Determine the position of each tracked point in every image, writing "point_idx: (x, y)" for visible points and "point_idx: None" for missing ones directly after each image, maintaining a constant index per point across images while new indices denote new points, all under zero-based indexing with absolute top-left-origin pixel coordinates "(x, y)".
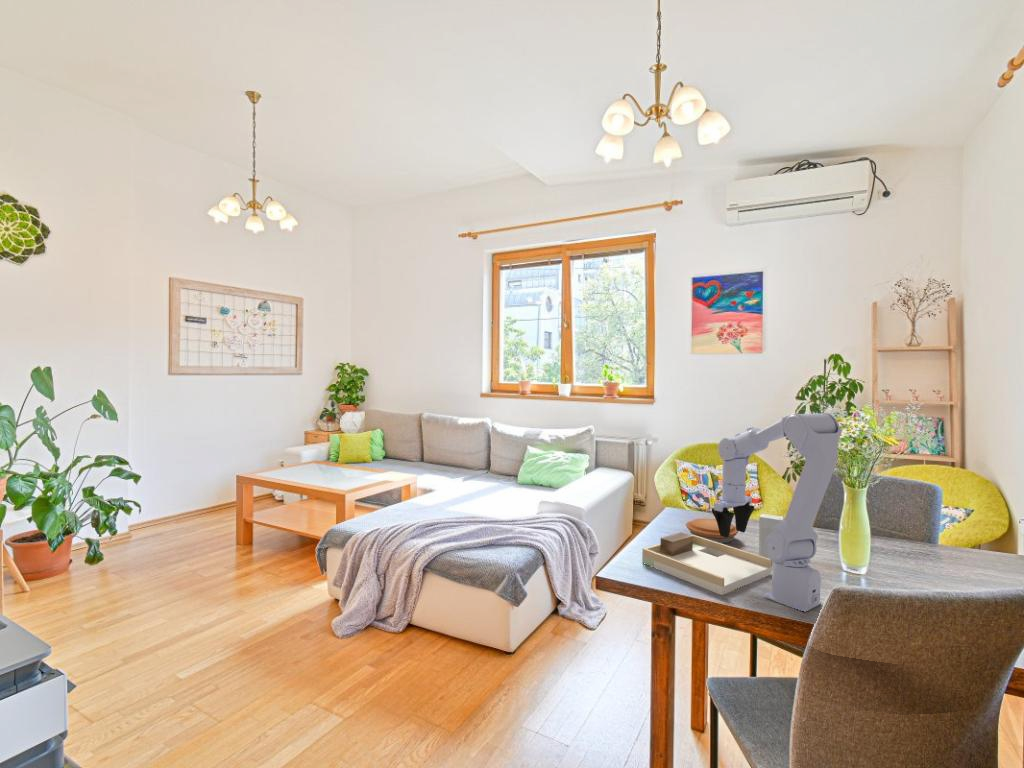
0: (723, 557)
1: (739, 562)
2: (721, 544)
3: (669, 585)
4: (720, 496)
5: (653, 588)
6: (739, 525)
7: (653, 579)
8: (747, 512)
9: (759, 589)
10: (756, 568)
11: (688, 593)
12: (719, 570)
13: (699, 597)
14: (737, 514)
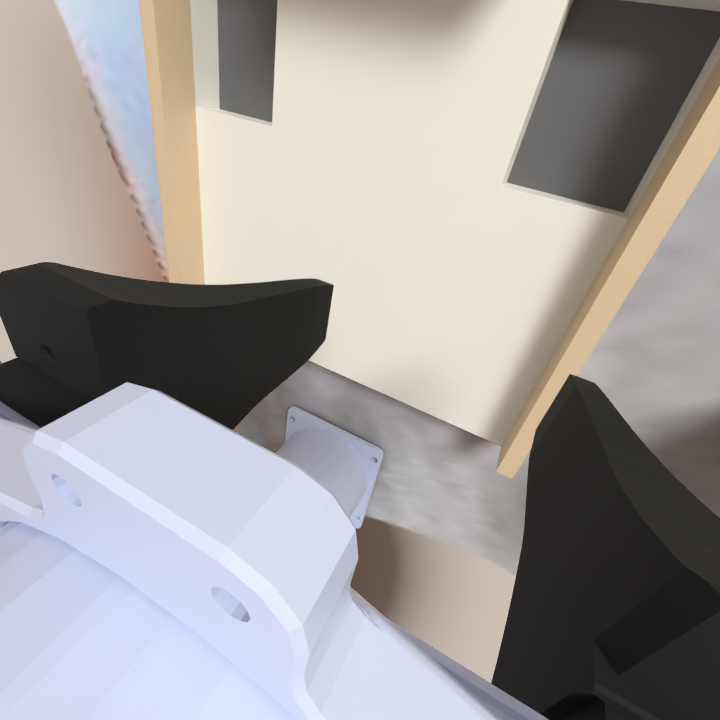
0: (519, 221)
1: (483, 321)
2: (680, 163)
3: (141, 116)
4: (158, 523)
5: (85, 81)
6: (558, 432)
7: (124, 17)
8: (505, 649)
9: (340, 393)
10: (448, 397)
11: (152, 207)
12: (311, 263)
13: (160, 247)
14: (585, 504)
